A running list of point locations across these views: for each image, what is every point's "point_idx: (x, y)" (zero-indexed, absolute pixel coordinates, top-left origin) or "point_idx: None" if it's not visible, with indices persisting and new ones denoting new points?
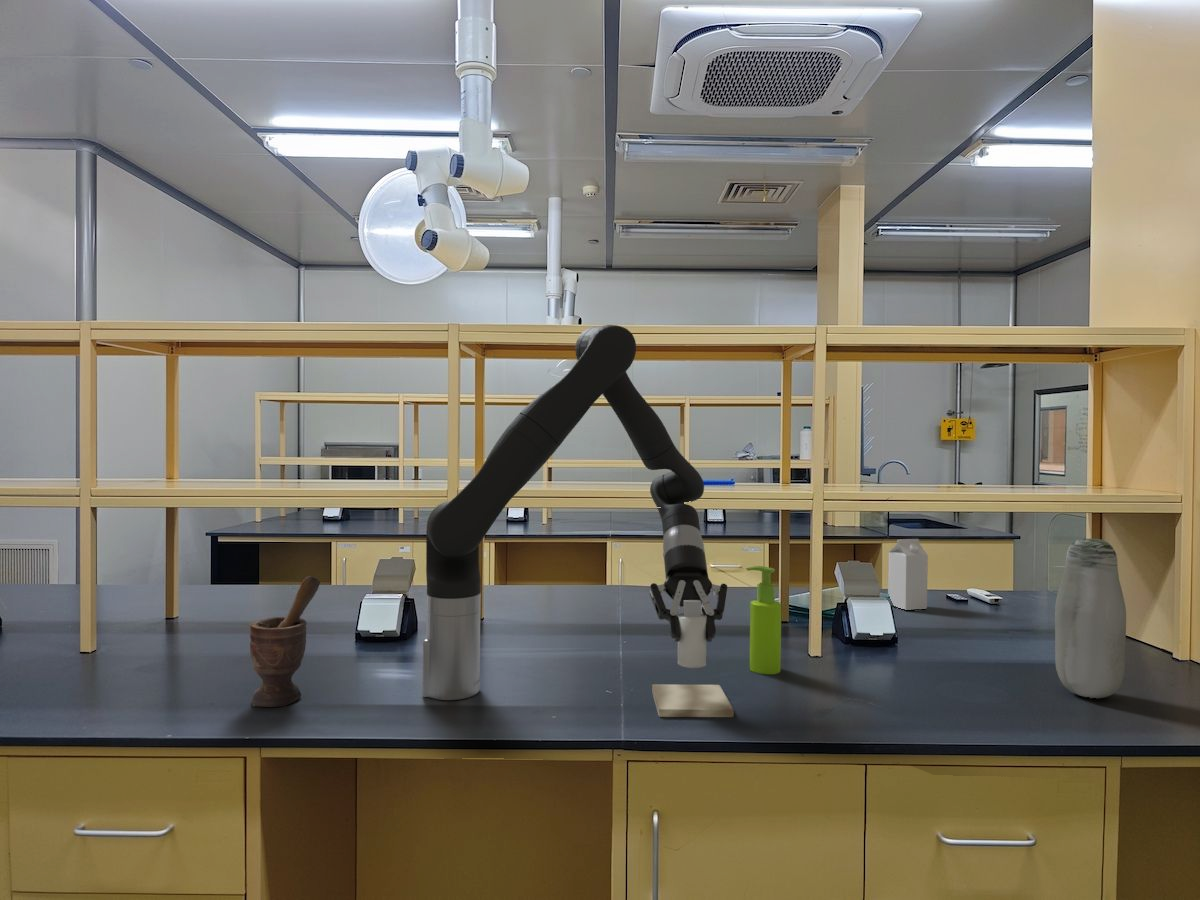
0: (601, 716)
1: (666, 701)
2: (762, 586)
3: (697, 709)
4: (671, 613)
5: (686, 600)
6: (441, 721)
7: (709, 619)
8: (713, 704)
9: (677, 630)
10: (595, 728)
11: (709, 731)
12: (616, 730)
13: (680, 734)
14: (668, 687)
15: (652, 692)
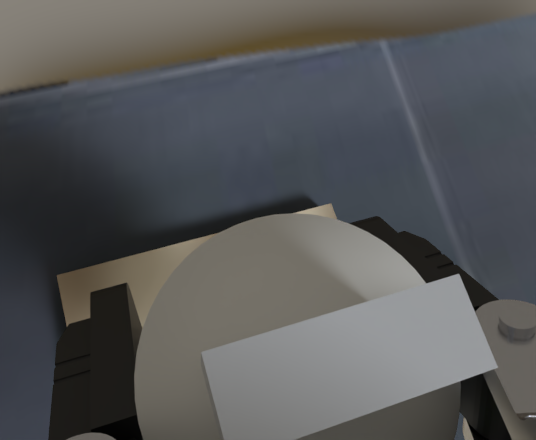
0: (493, 170)
1: None
2: None
3: (197, 238)
4: (527, 311)
5: (449, 357)
6: None
7: (102, 393)
8: (139, 311)
9: (380, 230)
10: (473, 84)
11: (147, 139)
12: (415, 84)
13: (233, 98)
14: None
15: None
